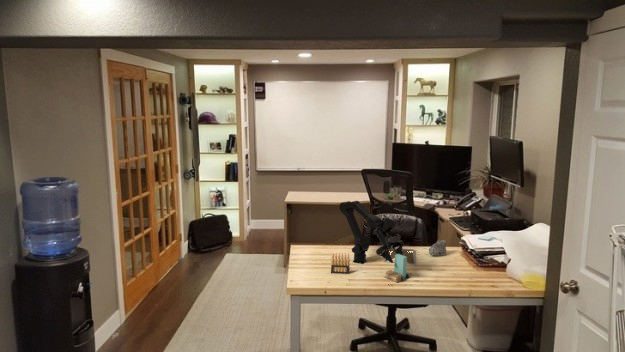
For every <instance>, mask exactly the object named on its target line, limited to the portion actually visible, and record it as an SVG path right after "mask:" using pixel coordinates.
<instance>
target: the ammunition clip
mask: <svg viewBox="0 0 625 352" xmlns="http://www.w3.org/2000/svg"><path fill="white" fill-rule="evenodd" d="M330 261H331V262H330V266H331V267H330V274H334V275H335V274H337V275H338V274H339V275H341V274H342V275H350V268H351V267H350V264H351V263H350V254H349V253H347V254H346V253H340V252H338V254H337V253H335V255H334V252H332V254H331V260H330Z"/></svg>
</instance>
